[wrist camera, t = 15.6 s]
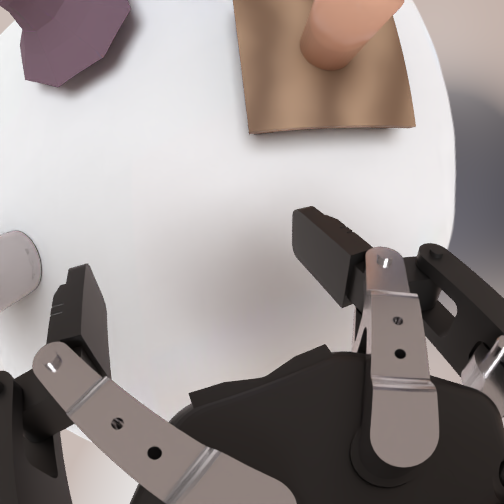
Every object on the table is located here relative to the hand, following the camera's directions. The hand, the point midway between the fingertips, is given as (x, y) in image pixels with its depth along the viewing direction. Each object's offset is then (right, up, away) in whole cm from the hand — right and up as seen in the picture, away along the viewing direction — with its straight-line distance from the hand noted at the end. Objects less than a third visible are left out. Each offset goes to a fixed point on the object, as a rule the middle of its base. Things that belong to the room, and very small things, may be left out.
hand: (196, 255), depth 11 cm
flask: (-19, +27, +16) cm, 37 cm away
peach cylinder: (+9, +19, +12) cm, 24 cm away
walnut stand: (+9, +20, +18) cm, 28 cm away
